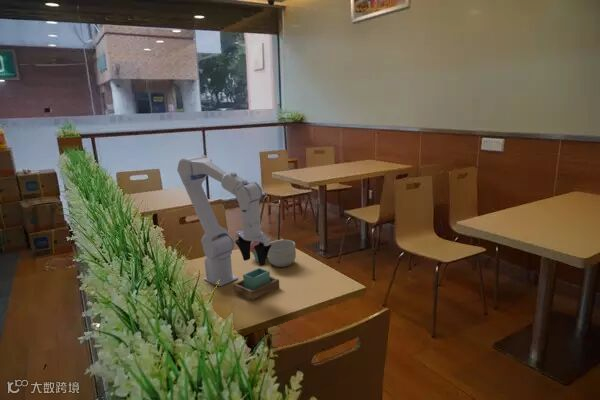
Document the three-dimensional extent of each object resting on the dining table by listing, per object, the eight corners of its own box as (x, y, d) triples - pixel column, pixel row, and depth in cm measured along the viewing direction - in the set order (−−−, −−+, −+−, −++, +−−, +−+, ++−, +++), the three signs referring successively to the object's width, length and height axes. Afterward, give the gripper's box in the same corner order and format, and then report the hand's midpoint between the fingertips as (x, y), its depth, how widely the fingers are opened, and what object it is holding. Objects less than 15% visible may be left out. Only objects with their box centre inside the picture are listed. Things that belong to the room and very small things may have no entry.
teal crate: (244, 290, 132) (243, 274, 131) (260, 282, 137) (259, 267, 136) (254, 294, 129) (253, 278, 127) (270, 286, 134) (269, 271, 132)
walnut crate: (234, 292, 132) (233, 284, 131) (260, 280, 140) (259, 272, 139) (253, 301, 126) (252, 292, 125) (279, 287, 134) (278, 279, 133)
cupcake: (250, 255, 164) (248, 227, 161) (271, 253, 165) (269, 225, 162) (250, 263, 156) (248, 233, 153) (272, 261, 157) (270, 231, 154)
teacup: (292, 270, 147) (291, 249, 145) (264, 269, 150) (262, 248, 148) (300, 256, 161) (299, 236, 159) (274, 255, 163) (272, 236, 161)
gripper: (276, 222, 125) (279, 263, 128) (246, 215, 135) (249, 253, 138) (259, 228, 120) (262, 270, 124) (229, 220, 130) (233, 260, 133)
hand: (254, 262), depth 131 cm, fingers open, 7 cm apart
